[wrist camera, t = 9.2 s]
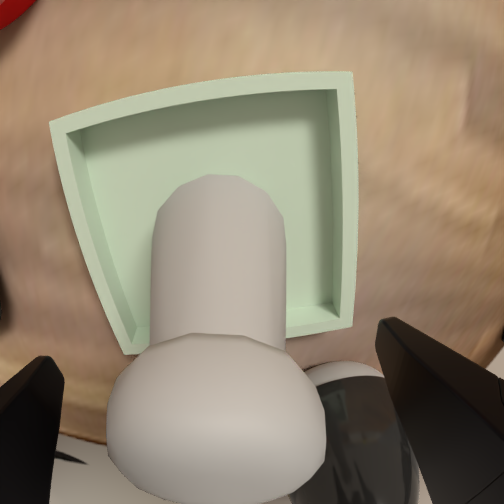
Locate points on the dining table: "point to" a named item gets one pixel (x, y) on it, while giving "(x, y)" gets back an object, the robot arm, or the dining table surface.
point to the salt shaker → (217, 359)
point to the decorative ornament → (12, 10)
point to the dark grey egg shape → (359, 441)
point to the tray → (220, 163)
